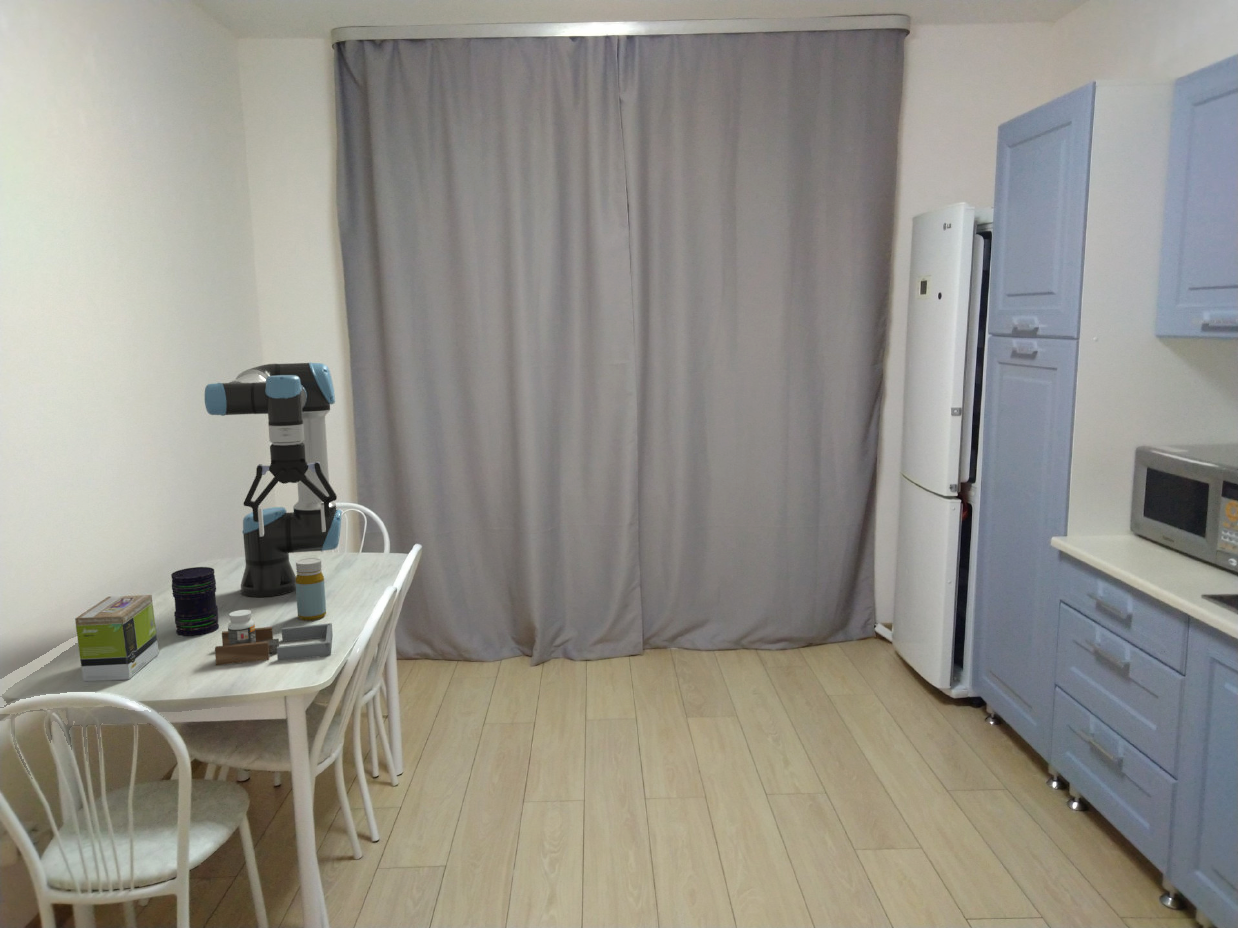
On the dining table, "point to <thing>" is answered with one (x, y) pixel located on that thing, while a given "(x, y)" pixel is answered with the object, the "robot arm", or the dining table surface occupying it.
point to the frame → (309, 648)
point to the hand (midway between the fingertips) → (293, 533)
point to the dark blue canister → (195, 601)
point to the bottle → (310, 589)
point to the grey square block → (272, 645)
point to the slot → (244, 648)
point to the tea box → (116, 638)
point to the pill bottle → (241, 628)
